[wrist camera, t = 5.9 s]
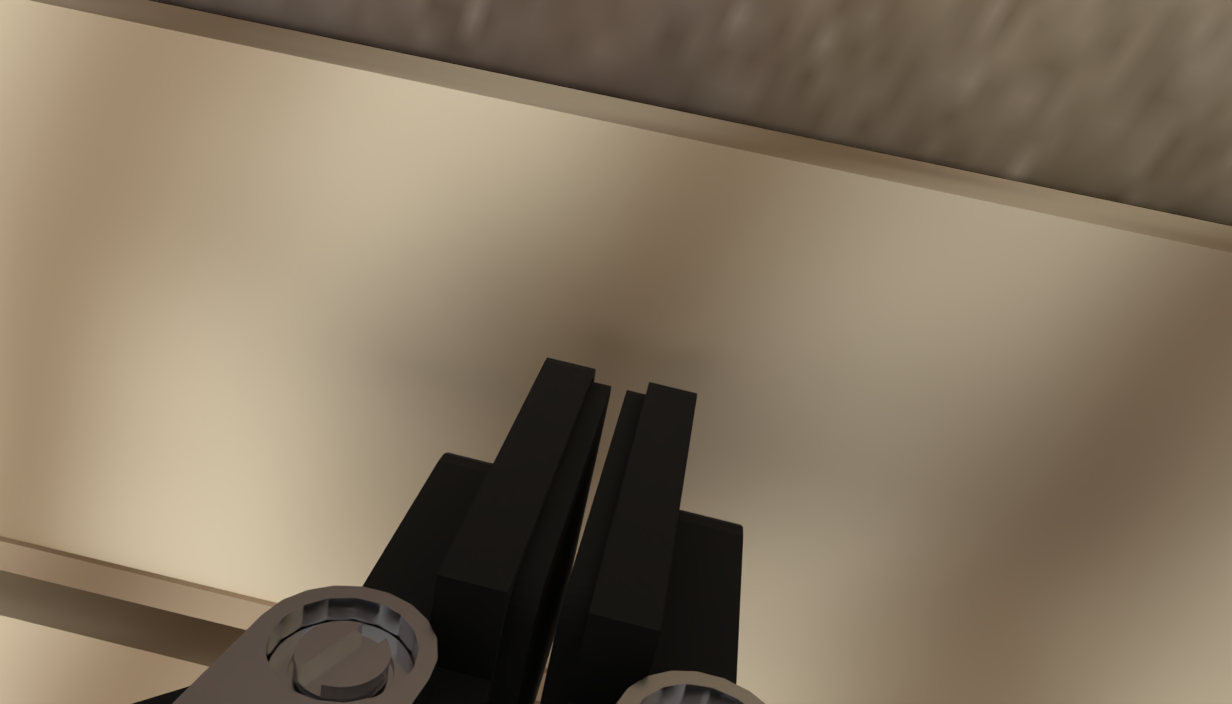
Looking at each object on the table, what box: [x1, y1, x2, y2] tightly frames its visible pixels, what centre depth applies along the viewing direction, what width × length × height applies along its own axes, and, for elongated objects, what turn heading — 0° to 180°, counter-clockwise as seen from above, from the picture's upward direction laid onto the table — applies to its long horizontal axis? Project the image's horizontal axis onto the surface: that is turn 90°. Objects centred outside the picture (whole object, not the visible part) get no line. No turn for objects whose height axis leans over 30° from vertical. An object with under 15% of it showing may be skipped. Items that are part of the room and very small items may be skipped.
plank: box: [0, 0, 1232, 704], centre depth 14 cm, size 26×9×1 cm, turn 80°
